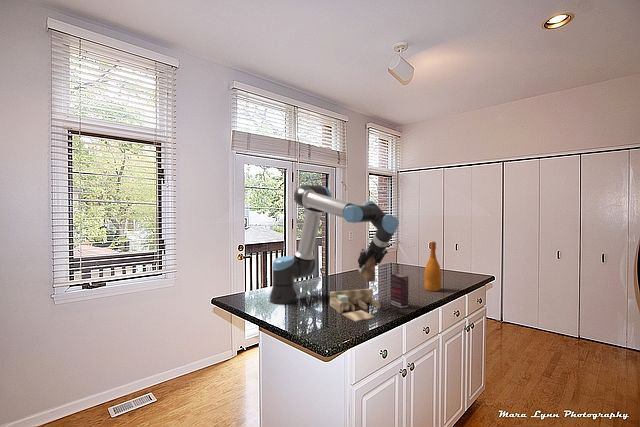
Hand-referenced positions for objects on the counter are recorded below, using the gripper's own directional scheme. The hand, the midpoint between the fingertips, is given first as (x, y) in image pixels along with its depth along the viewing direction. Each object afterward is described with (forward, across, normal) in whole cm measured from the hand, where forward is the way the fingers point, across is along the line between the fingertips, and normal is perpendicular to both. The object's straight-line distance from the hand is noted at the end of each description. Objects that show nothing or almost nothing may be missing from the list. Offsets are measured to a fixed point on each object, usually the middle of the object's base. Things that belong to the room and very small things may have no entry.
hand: (364, 270), depth 177 cm
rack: (+12, -4, -14) cm, 19 cm away
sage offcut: (+10, -12, -11) cm, 20 cm away
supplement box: (+9, +18, -17) cm, 26 cm away
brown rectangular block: (0, 0, -6) cm, 6 cm away
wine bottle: (+25, +56, -1) cm, 61 cm away
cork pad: (+2, -10, -24) cm, 26 cm away
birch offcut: (+12, -13, -14) cm, 22 cm away
